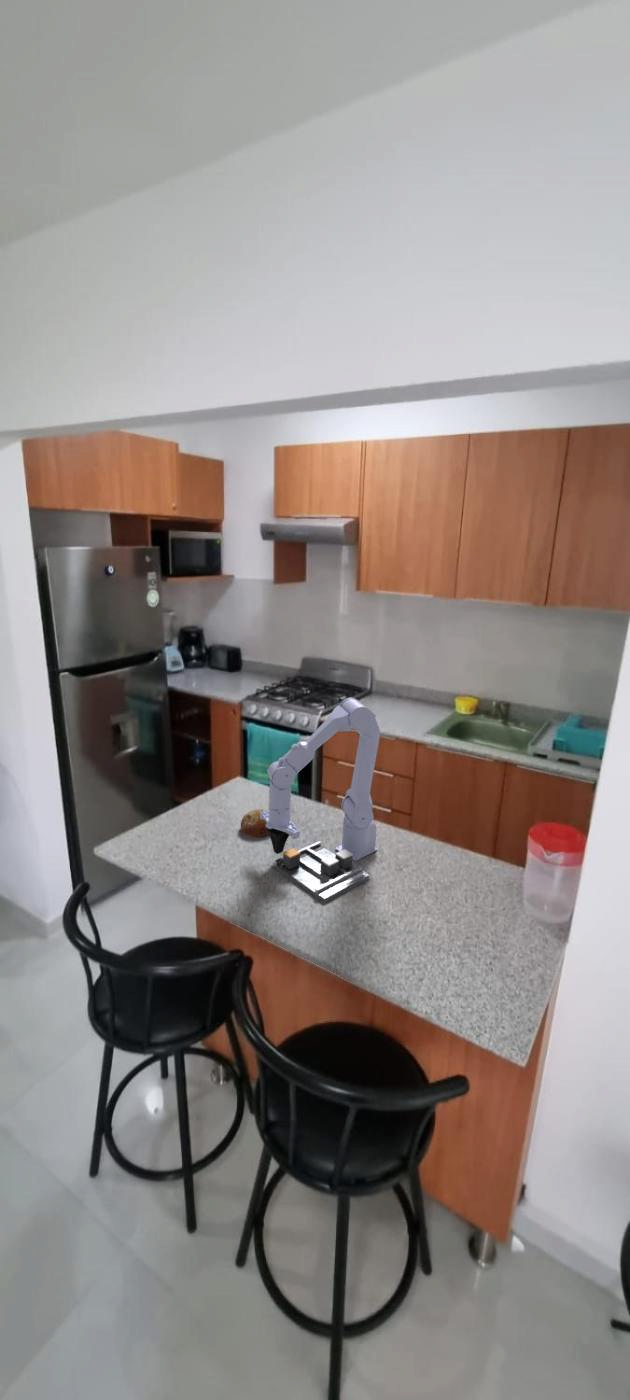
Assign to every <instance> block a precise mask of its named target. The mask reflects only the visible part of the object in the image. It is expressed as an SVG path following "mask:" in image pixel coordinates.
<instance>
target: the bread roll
mask: <svg viewBox="0 0 630 1400" xmlns="http://www.w3.org/2000/svg"><path fill="white" fill-rule="evenodd" d="M263 811H265V809H262V808H261V809H260V808H257V809H254V810H250V811H248V812H247V813H245V814H244V816H243V817H242V819H241V821H240V830H241V832H242V833H243V834H244V835H245V836H249V837H253V838H264V837H268V836H269V834H268V833H267V831H266V828H267V827H266V824H267V822H266V821H265V819H264V820H262V819H260V812H263Z"/></svg>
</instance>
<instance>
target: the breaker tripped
mask: <svg viewBox="0 0 630 1400" xmlns="http://www.w3.org/2000/svg"><path fill="white" fill-rule="evenodd" d="M282 857H283V865H285V866H286V867H287V868H289V869H292V868H294V867H296V866H298V865H300V852H298V850H297V849H296V848H294V847H292V848H290V849H287V850H285V851H283V852H282Z"/></svg>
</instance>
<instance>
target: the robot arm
mask: <svg viewBox="0 0 630 1400" xmlns="http://www.w3.org/2000/svg"><path fill="white" fill-rule="evenodd" d="M351 727H352V728H353V729H354V730H355V731H356V732H357V733H358V735H359V737H358V745H357V748H356V754H355V761H354V768H353V773H352V778H351V785H350V788H348V789H347V790H346V794H345V796H344V797H343V799H342V801H341V805H340V807H341V811H342V812H343V813H344V817H343V821H342V822H343V824H342V839H341V841H342V842H341V844H340V845H339V846H336V847H335V848H334V849H335V850H336V851H338V852H340V851H342V850H344V849H345V850H347V851H349V852H351V853H352V854H353V859H352V861H354V862H356V861H358V860H360V859H362V858H364V857H366V856H368V855H370V854H373V853H374V852H377V851H378V847H376V841H377V840H376V839H377V825H376V823H375V821H374V812H373V800H372V797H371V787H372V781H373V776H374V772H375V771H374V770H375V765H376V760H377V754H378V749H379V744H380V737H381V729H380V726H379V724H378V722H377V719H376V714H375V713H374V712H373V711H372V710H370V708H368V707H367V706H365V705H364V704H363V703H361V702H360V701H359V700H358V699H356V698H354V697H346V698H345V699H343V700H342V701H341V702H340V704H337V706H336V707H334V708H333V710H332V712H331V713H330V715H329V716H328V717H327V718H326V719H325V720H324V721H323V722H322V723H321V725H319V727H318V728H317V729H316V730H315V731H314V732H313V733H312V734H311V735H310V736H308V737H309V738H307V740H305V741H304V740H303V741H298V742H297V743H293V744H292V745H291V747H290V748H291V749H289V750H288V752H287V753H285V754H284V756H282V757H279V758H278V760H277V761H273V762H272V763H271V764H270V765H269V767H268V769H267V770H266V774H267V777H268V778H269V779H270V780H269V790H268V810H267V809H266V810H265V809H264V810H265V811H263V812H260V819H262V820H264V819H265V821H266V822H267V824H266V827H267V828H266V831H267V833H268V834H269V835H268V836H269V839H270V841H271V845H272V849H273V853H275V854H276V855H279V854H281V853H283V852H284V849H285V846H286V843H287V841H288V838H289V837H291V839H292V840H295V839H296V840H297V839H299V838H300V832H301V831H300V830H299V829H298V828H297V827H296V825H295V824H294V823H293V822H292V820H291V799H292V797H291V796H292V790H291V788H292V787H291V786H292V785H294V782H295V780H296V779H295V777H296V776H297V775H298V773H299V772H300V771H301V770H302V769H304V768H305V767H306V766H307V765H308V764H309V763H310V762H311V761H312V760H313V759H314V758H315V751H316V750H317V749H319V748H320V747H321V746H323V744H324V743H326V742H327V741H328V740H330V739H331V738H332V737H333V736H335V735H336V734H337V733H338V732H351V731H352V729H351Z"/></svg>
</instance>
